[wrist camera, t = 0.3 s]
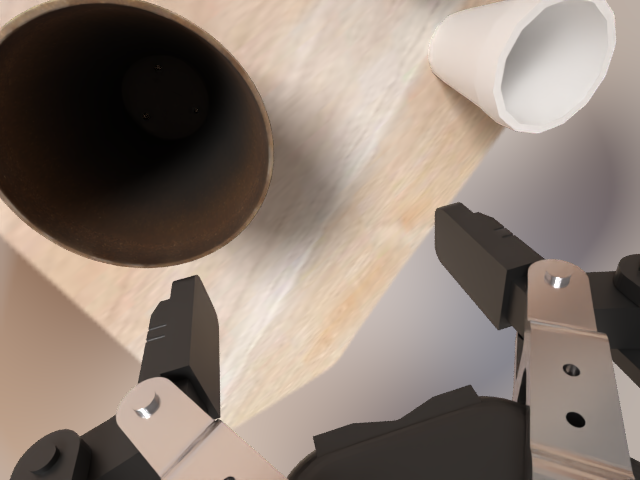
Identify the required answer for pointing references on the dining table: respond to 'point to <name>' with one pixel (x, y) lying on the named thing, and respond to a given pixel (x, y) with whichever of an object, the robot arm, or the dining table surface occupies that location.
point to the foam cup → (526, 58)
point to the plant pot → (128, 133)
